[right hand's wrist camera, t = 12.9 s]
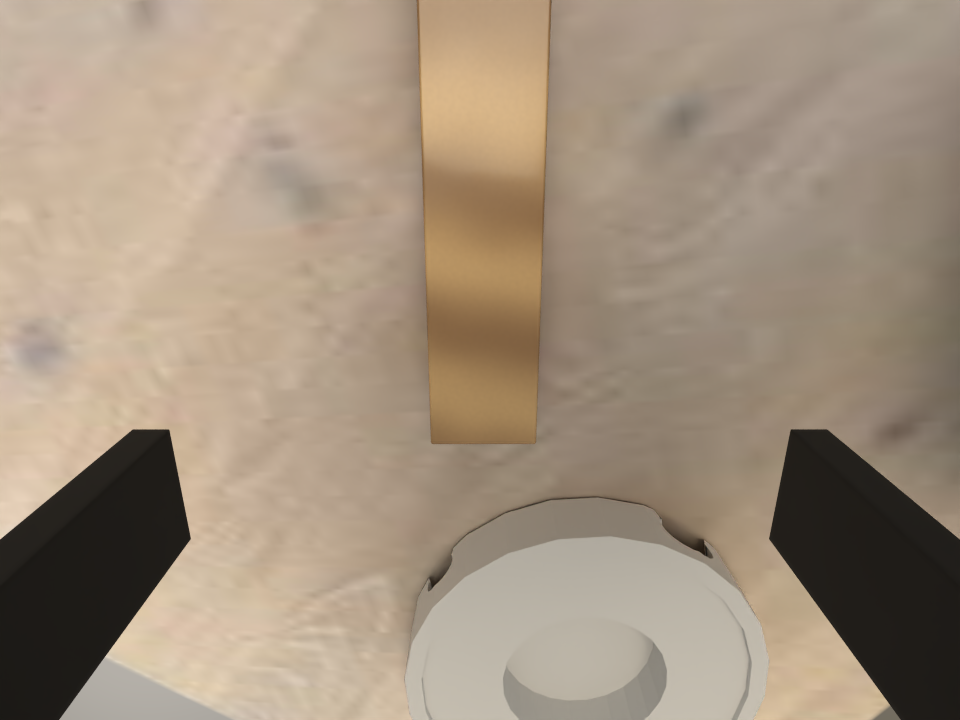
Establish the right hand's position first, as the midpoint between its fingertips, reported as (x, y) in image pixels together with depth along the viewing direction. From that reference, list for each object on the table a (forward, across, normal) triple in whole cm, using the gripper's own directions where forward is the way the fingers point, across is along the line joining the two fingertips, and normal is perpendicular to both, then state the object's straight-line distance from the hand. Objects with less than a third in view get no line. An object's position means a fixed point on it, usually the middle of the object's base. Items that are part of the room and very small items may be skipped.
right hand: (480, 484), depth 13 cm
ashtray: (+22, -7, +26) cm, 35 cm away
